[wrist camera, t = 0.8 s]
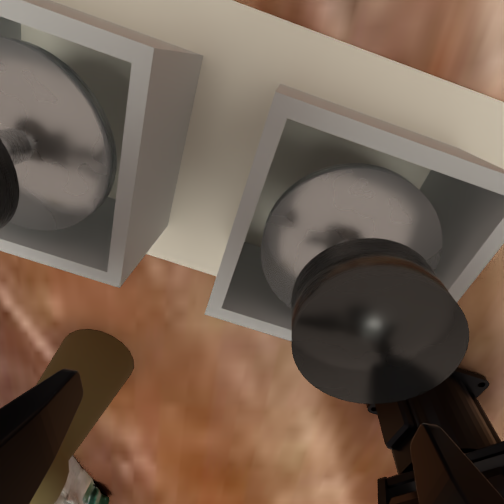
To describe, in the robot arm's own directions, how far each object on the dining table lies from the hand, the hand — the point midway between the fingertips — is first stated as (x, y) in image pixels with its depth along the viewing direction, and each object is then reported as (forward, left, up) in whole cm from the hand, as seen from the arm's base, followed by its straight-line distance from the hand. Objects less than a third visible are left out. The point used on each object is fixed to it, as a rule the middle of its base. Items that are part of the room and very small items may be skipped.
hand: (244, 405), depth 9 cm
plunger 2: (-3, -2, -7) cm, 8 cm away
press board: (+4, -2, -13) cm, 14 cm away
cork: (+9, +17, -13) cm, 23 cm away
